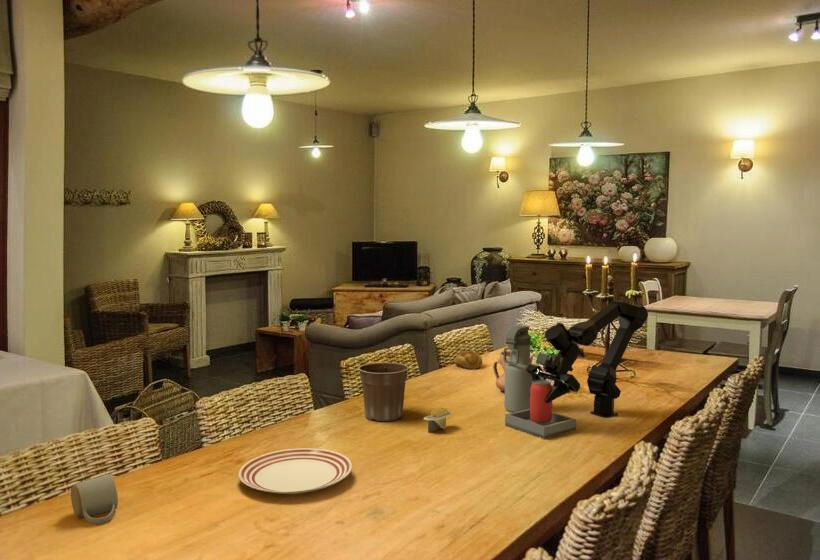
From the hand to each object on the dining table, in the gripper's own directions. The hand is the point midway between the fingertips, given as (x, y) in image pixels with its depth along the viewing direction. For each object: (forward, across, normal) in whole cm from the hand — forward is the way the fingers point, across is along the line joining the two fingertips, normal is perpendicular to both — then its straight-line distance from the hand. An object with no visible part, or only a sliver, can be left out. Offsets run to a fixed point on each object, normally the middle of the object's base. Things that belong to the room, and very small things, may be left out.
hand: (537, 399), depth 208 cm
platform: (+25, -15, -12) cm, 32 cm away
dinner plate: (+61, -2, -49) cm, 79 cm away
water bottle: (0, -19, +13) cm, 23 cm away
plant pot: (+30, -36, -17) cm, 50 cm away
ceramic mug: (+92, -6, -81) cm, 123 cm away
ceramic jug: (-10, -38, +23) cm, 45 cm away
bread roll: (-17, -79, +31) cm, 86 cm away
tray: (+6, 0, +7) cm, 9 cm away
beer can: (+4, 0, +6) cm, 7 cm away
